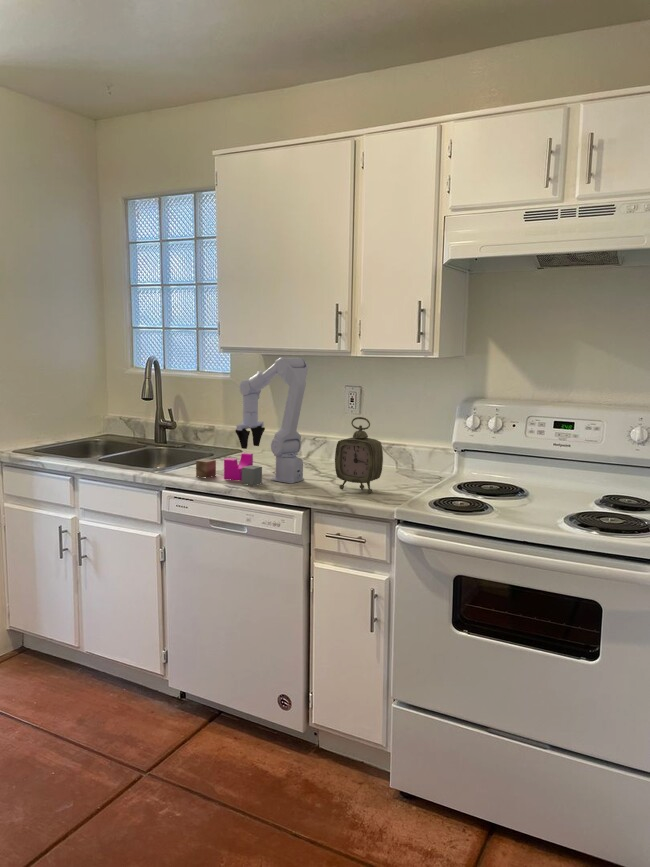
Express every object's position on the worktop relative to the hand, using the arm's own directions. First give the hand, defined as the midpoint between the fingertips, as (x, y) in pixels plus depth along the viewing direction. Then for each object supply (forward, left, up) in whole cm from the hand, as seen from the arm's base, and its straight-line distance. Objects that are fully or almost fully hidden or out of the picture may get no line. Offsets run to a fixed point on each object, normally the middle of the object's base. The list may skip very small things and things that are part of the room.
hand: (250, 447), depth 253 cm
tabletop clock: (-49, +4, -9) cm, 50 cm away
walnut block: (+7, +18, -9) cm, 21 cm away
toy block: (-4, +10, -10) cm, 14 cm away
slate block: (-14, +18, -9) cm, 25 cm away
